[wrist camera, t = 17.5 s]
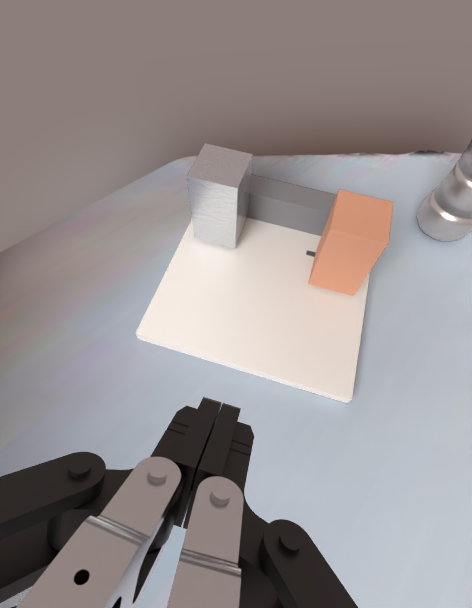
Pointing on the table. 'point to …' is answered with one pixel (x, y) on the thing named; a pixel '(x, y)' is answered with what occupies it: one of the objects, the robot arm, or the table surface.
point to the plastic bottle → (450, 203)
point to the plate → (263, 297)
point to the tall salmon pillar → (351, 242)
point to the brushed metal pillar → (219, 194)
